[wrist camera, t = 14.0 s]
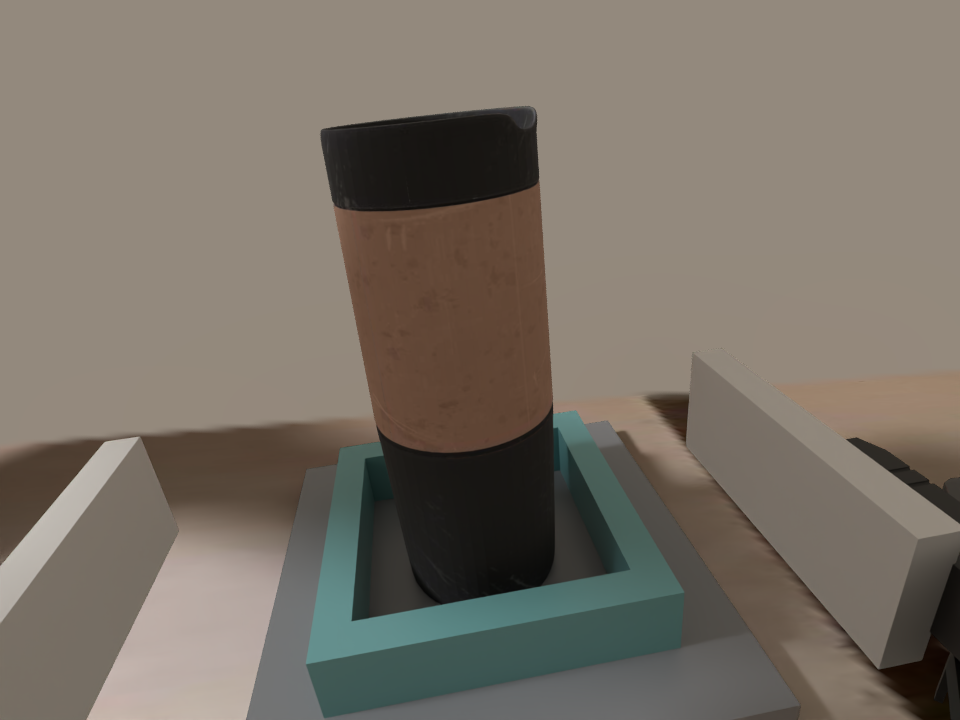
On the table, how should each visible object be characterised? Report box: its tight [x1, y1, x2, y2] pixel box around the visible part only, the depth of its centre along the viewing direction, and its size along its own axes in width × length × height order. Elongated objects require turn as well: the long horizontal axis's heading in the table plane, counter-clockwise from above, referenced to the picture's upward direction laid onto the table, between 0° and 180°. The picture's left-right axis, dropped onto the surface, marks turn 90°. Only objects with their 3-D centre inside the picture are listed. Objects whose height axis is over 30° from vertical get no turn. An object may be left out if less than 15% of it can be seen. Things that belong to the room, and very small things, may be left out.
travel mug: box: [321, 106, 555, 605], centre depth 24 cm, size 8×8×20 cm
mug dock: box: [246, 411, 801, 720], centre depth 28 cm, size 20×20×4 cm
